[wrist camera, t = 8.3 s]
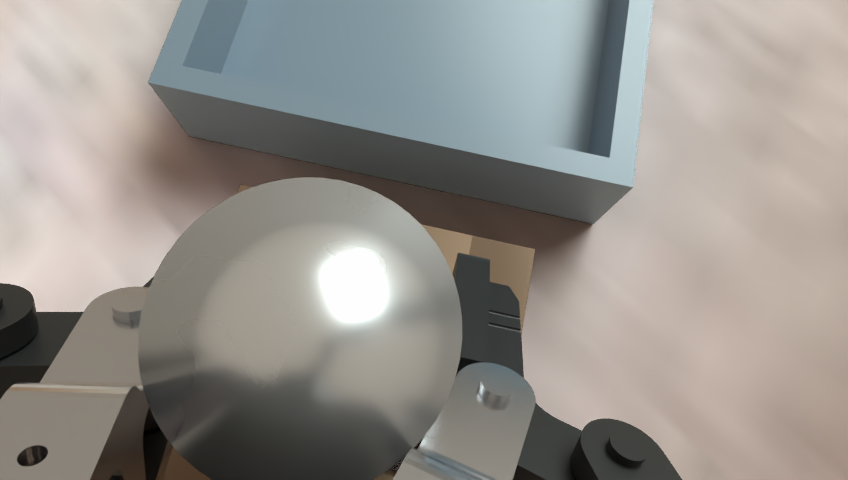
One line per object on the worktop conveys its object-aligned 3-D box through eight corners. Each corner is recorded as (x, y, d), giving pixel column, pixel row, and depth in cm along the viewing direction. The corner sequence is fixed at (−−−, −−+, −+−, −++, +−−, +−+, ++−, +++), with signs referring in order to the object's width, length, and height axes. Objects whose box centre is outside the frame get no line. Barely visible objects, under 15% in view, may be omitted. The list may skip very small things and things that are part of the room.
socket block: (514, 272, 19) (535, 249, 17) (466, 556, 17) (480, 587, 14) (263, 217, 20) (240, 184, 17) (176, 490, 17) (131, 507, 14)
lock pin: (438, 314, 17) (487, 210, 8) (410, 455, 15) (428, 534, 6) (307, 287, 17) (196, 150, 8) (270, 425, 16) (88, 460, 6)
